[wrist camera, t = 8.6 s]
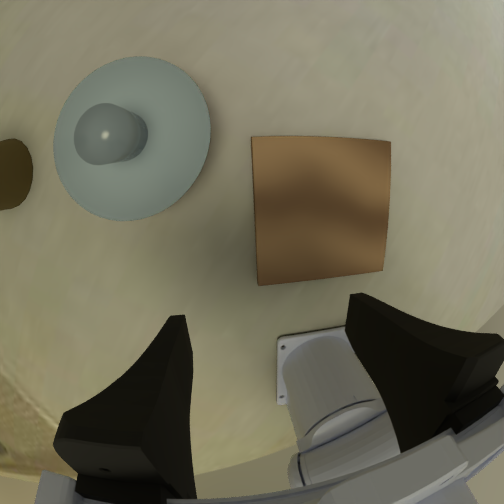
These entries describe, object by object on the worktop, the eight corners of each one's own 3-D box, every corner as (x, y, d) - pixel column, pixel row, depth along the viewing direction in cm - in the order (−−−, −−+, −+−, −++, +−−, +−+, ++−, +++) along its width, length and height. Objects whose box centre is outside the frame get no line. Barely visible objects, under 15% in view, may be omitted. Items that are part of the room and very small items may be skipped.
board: (379, 268, 24) (382, 270, 23) (257, 282, 22) (258, 286, 22) (386, 141, 20) (390, 141, 19) (250, 137, 19) (252, 136, 18)
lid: (224, 198, 16) (227, 215, 12) (79, 232, 16) (45, 257, 12) (197, 45, 13) (193, 12, 9) (53, 92, 12) (14, 81, 8)
